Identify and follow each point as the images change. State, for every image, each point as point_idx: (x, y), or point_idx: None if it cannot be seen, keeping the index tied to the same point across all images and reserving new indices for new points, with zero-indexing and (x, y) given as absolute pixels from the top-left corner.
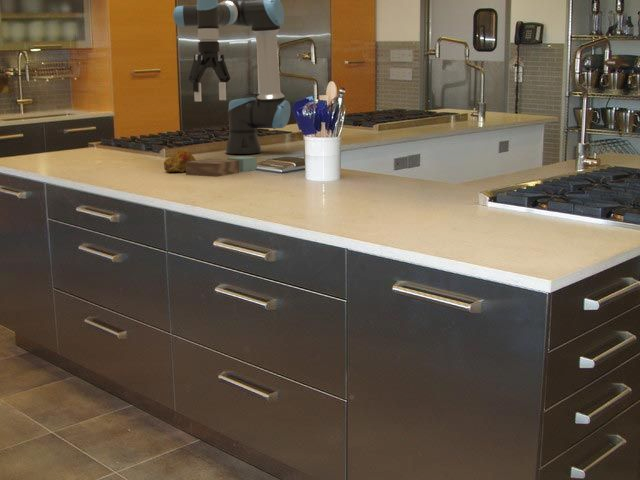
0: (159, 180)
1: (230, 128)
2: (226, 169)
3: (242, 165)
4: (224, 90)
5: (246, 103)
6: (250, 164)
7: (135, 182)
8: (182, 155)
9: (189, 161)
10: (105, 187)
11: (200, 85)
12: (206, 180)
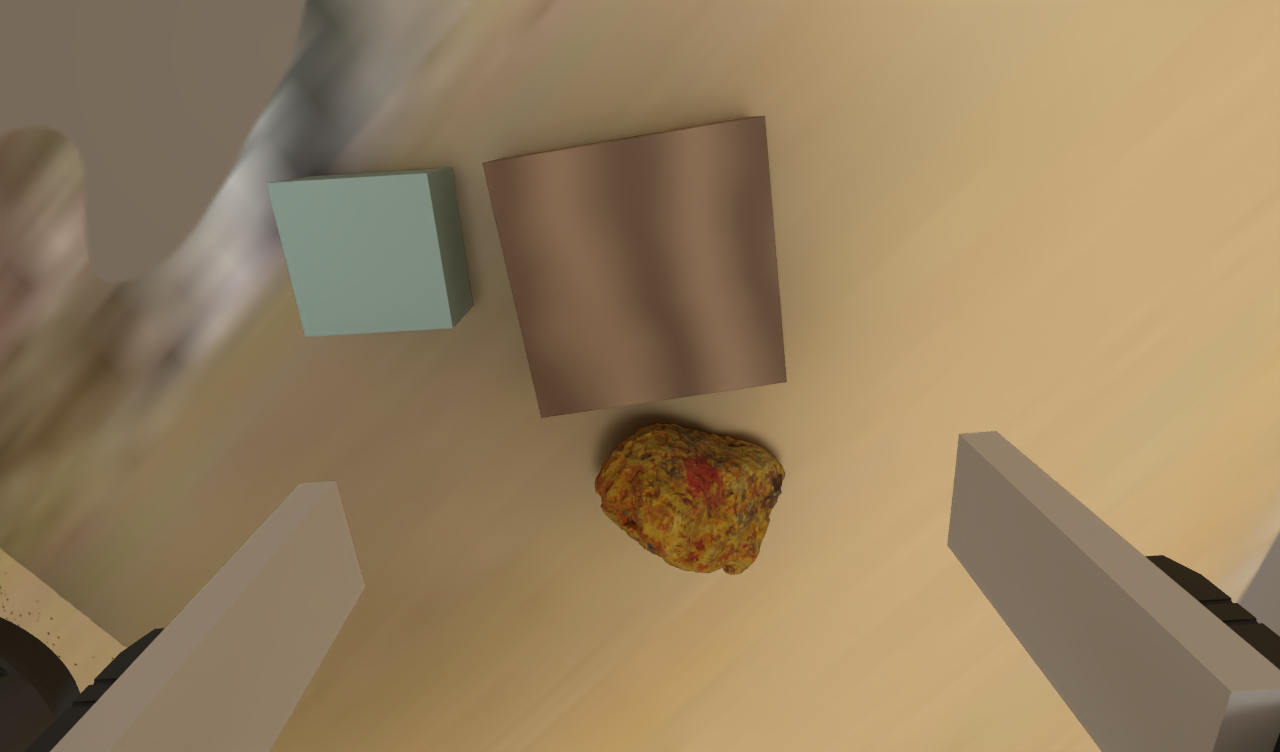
0: (1064, 273)
1: None
2: (642, 135)
3: (441, 178)
4: (242, 596)
5: None
6: (362, 174)
7: (1192, 315)
8: (709, 495)
9: (679, 446)
10: None
11: (1194, 632)
12: (948, 13)
